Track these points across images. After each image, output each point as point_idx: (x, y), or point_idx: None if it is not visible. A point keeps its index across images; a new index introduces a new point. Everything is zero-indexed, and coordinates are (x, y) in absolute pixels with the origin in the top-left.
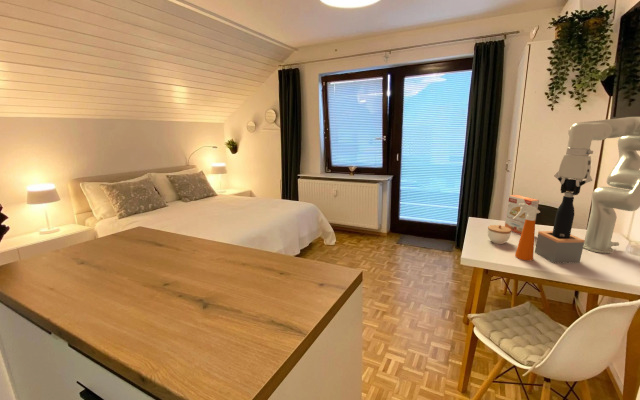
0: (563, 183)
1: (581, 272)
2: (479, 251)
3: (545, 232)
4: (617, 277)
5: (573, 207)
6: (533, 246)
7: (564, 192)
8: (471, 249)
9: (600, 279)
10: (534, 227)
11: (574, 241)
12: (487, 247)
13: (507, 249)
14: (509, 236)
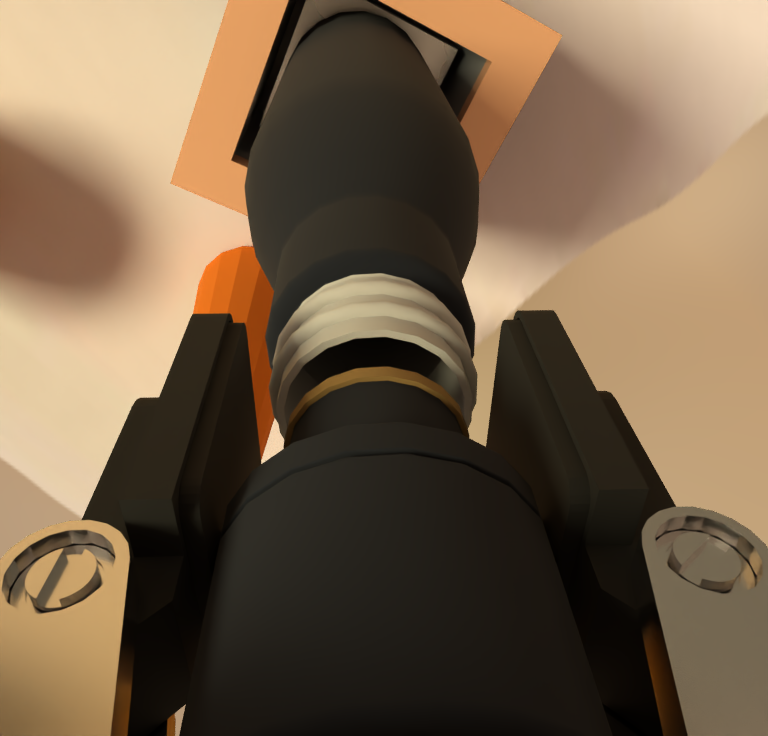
0: (170, 701)
1: (570, 191)
2: (78, 445)
3: (225, 155)
4: (751, 47)
5: (470, 229)
6: None
7: (253, 403)
8: (35, 460)
9: (674, 194)
10: (260, 445)
11: (500, 140)
12: (26, 351)
13: (97, 259)
14: None
